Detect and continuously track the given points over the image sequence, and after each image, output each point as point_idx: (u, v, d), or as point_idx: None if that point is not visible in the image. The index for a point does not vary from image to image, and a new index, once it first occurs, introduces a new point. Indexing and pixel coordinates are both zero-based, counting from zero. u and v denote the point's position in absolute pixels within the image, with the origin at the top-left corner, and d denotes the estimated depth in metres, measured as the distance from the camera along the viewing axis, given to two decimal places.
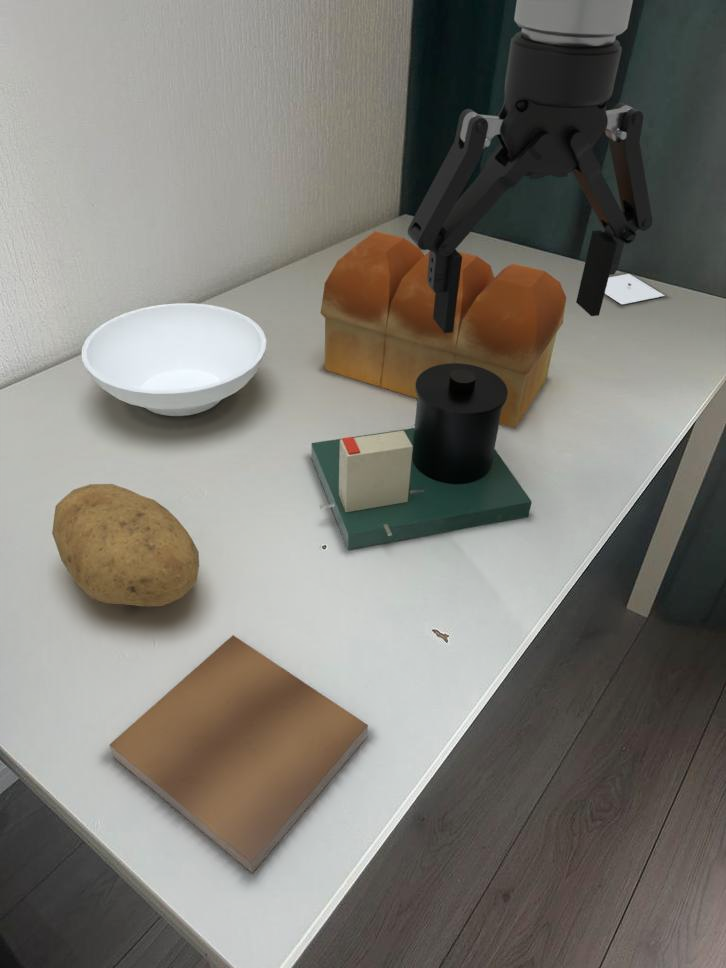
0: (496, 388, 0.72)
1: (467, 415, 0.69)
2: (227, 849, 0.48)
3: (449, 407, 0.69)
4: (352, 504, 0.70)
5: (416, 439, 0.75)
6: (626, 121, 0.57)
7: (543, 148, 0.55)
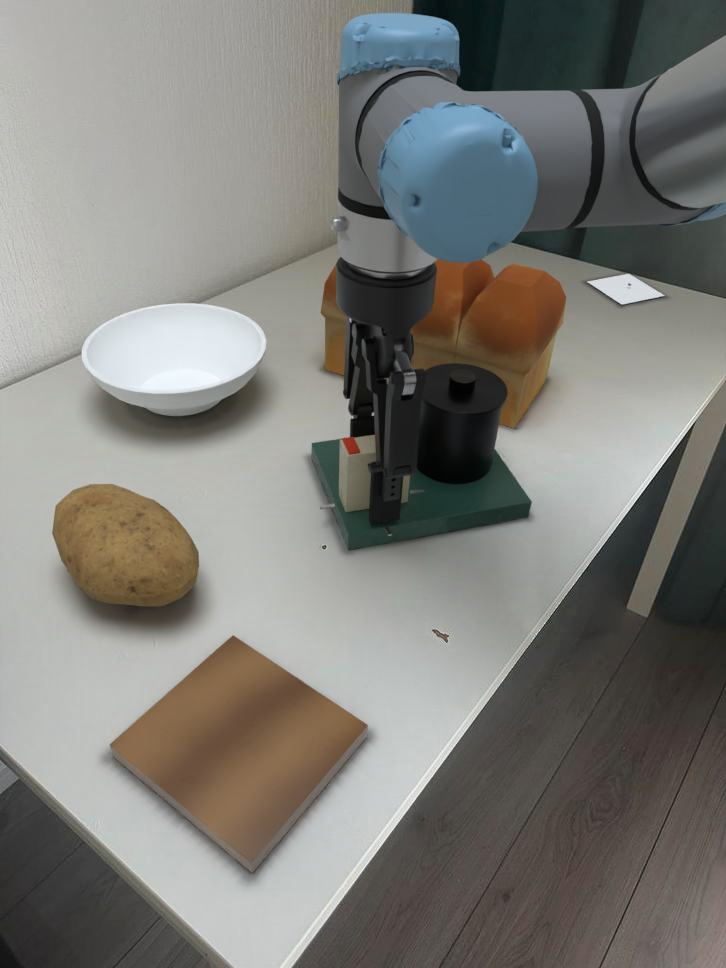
0: (496, 388, 0.72)
1: (467, 415, 0.69)
2: (227, 849, 0.48)
3: (449, 407, 0.69)
4: (352, 504, 0.70)
5: None
6: None
7: None
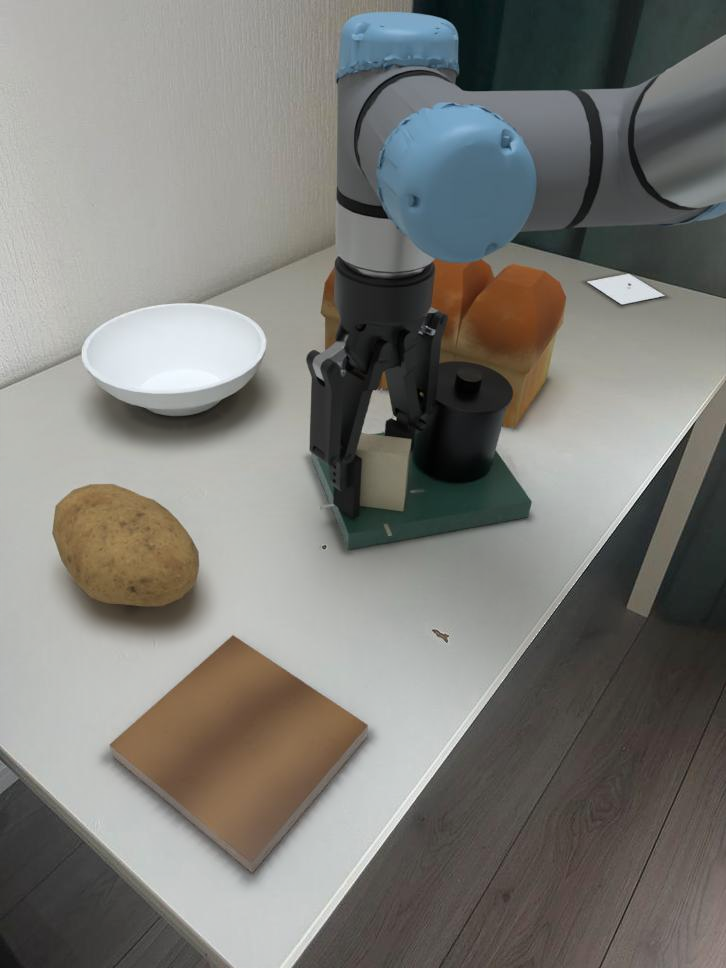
0: (502, 388, 0.72)
1: (473, 414, 0.69)
2: (227, 849, 0.48)
3: (455, 405, 0.69)
4: None
5: (418, 435, 0.74)
6: (435, 321, 0.64)
7: (384, 355, 0.60)
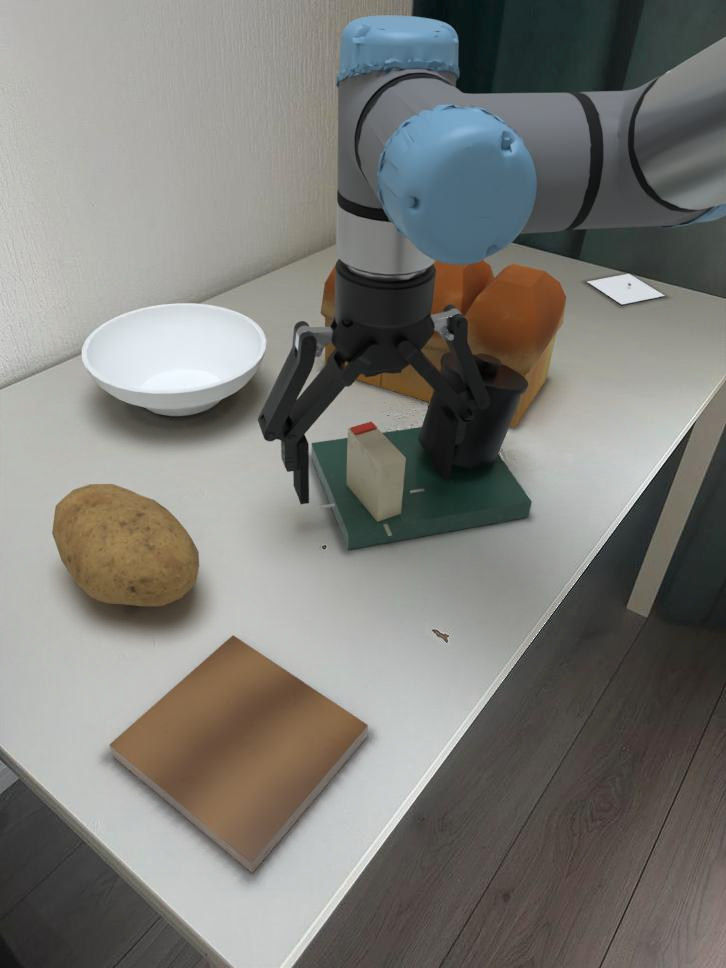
0: (517, 378, 0.73)
1: (495, 390, 0.69)
2: (227, 849, 0.48)
3: None
4: (349, 481, 0.73)
5: (431, 417, 0.74)
6: (452, 325, 0.62)
7: (371, 356, 0.60)
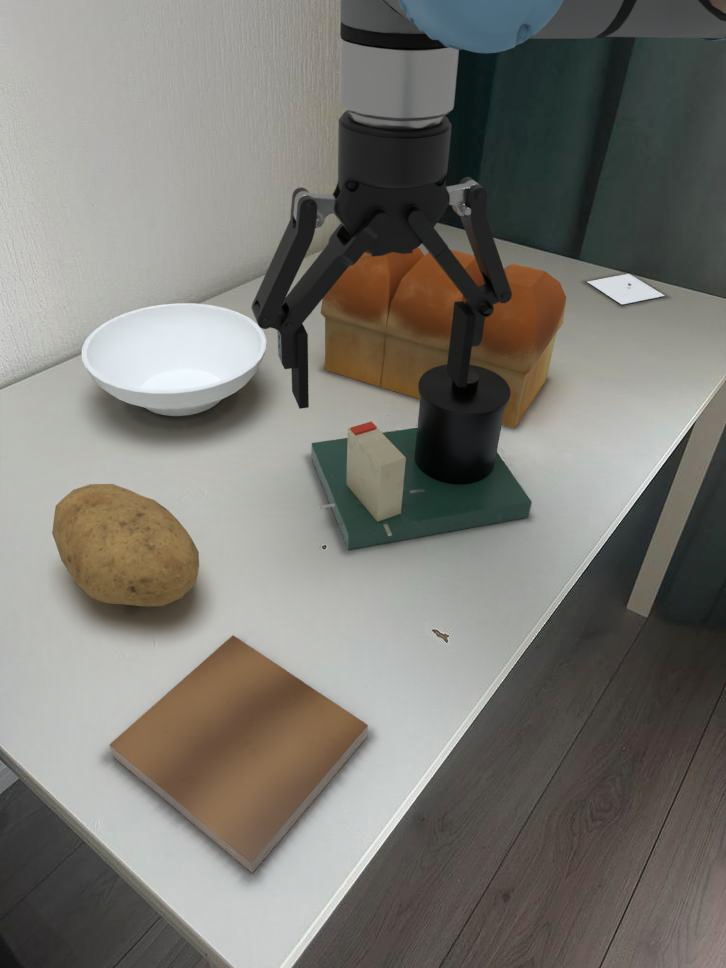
0: (499, 387, 0.72)
1: (473, 415, 0.69)
2: (227, 849, 0.48)
3: (454, 408, 0.69)
4: (349, 481, 0.73)
5: (420, 441, 0.74)
6: (469, 197, 0.55)
7: (379, 227, 0.53)
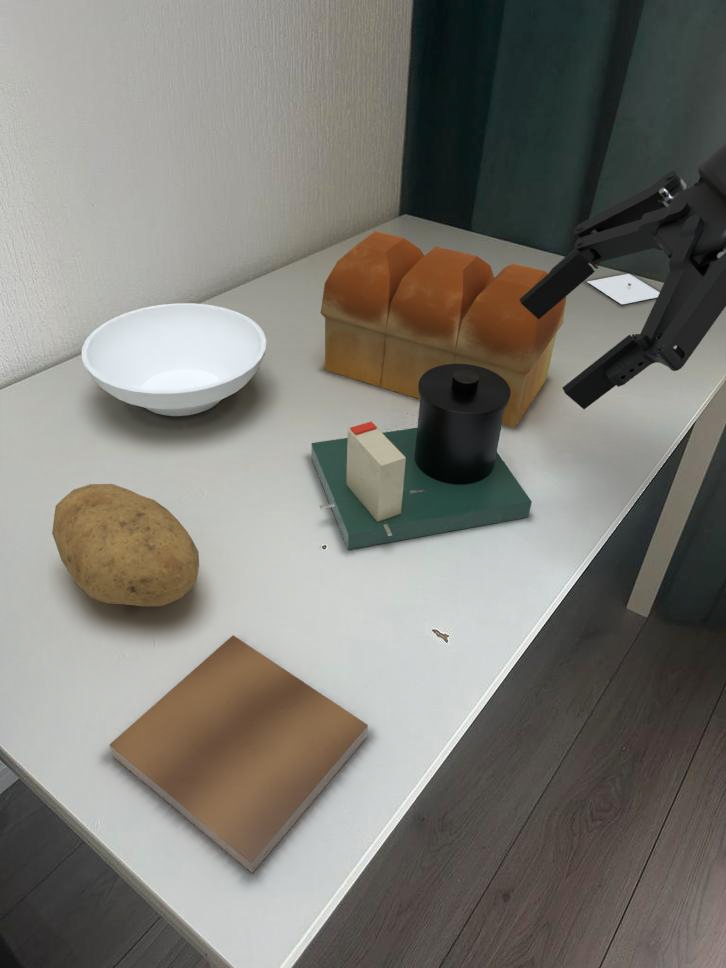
0: (499, 387, 0.72)
1: (473, 415, 0.69)
2: (227, 849, 0.48)
3: (454, 408, 0.69)
4: (349, 481, 0.73)
5: (420, 441, 0.74)
6: None
7: (673, 209, 0.61)
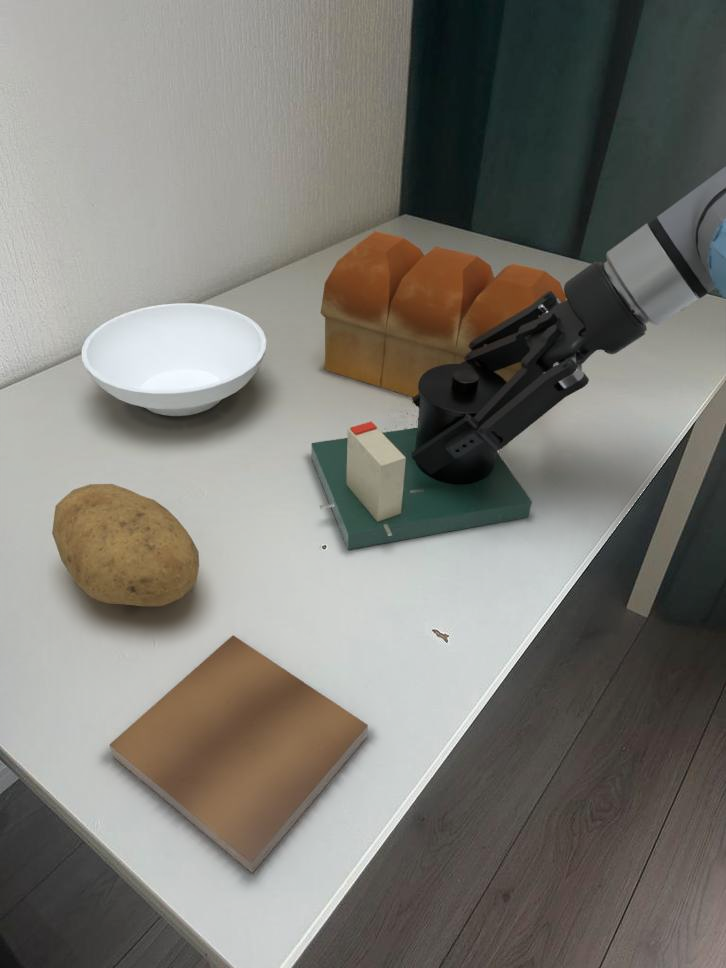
0: (499, 387, 0.72)
1: (473, 415, 0.69)
2: (227, 849, 0.48)
3: (454, 408, 0.69)
4: (349, 481, 0.73)
5: (420, 441, 0.74)
6: None
7: (542, 318, 0.69)
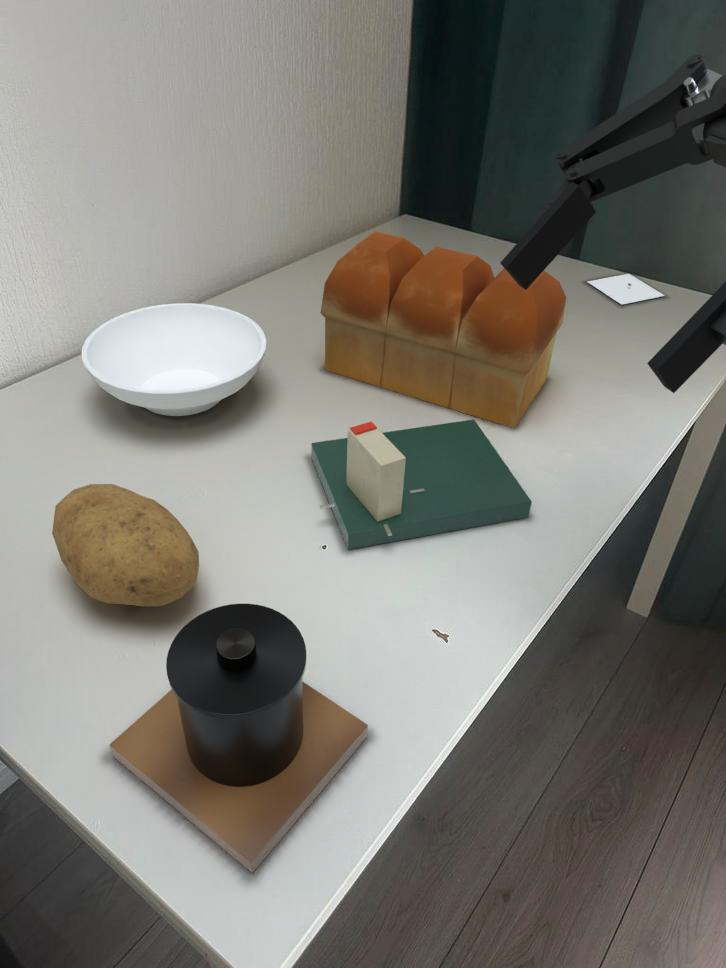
0: (283, 634, 0.49)
1: (271, 707, 0.45)
2: (227, 849, 0.48)
3: (240, 707, 0.45)
4: (349, 481, 0.73)
5: (195, 746, 0.49)
6: None
7: None
